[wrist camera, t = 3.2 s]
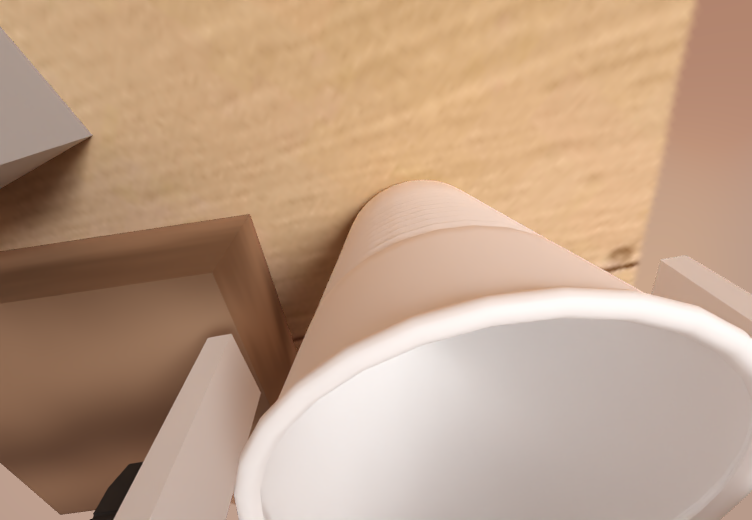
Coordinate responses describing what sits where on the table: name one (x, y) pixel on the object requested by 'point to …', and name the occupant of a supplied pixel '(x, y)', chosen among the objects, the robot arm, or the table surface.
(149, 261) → the walnut block
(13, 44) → the grey cube
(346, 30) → the table surface
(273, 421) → the cup
